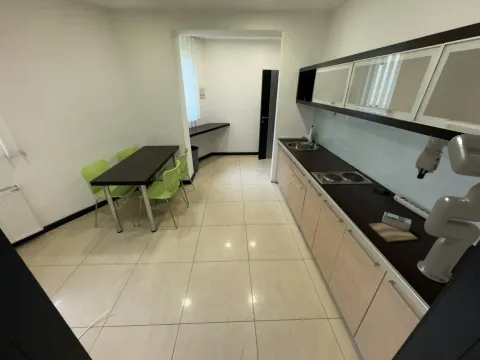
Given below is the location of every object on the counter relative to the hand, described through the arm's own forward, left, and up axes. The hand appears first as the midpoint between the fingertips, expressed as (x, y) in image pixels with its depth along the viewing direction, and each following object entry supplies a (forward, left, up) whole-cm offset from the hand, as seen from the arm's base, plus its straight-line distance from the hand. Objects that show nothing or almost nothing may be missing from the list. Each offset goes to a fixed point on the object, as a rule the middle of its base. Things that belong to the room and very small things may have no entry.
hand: (419, 178), depth 126 cm
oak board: (-12, +18, -32) cm, 39 cm away
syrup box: (-1, +16, -28) cm, 33 cm away
